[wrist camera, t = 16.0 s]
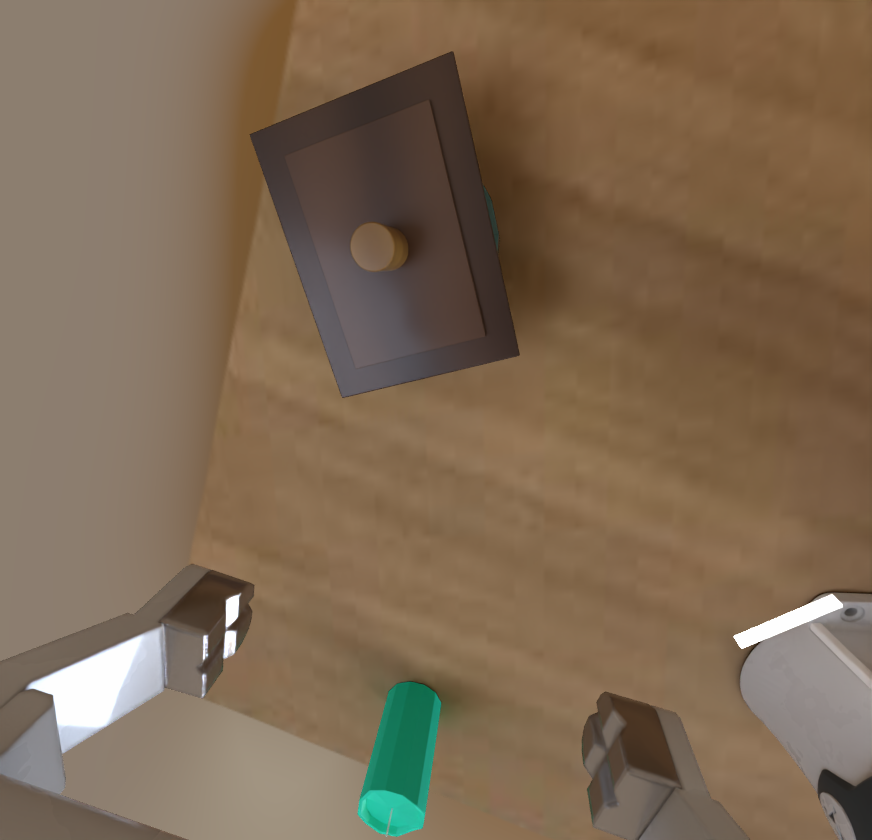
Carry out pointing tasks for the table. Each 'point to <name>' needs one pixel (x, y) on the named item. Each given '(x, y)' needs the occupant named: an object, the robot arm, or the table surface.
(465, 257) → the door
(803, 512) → the table surface
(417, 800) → the candle
